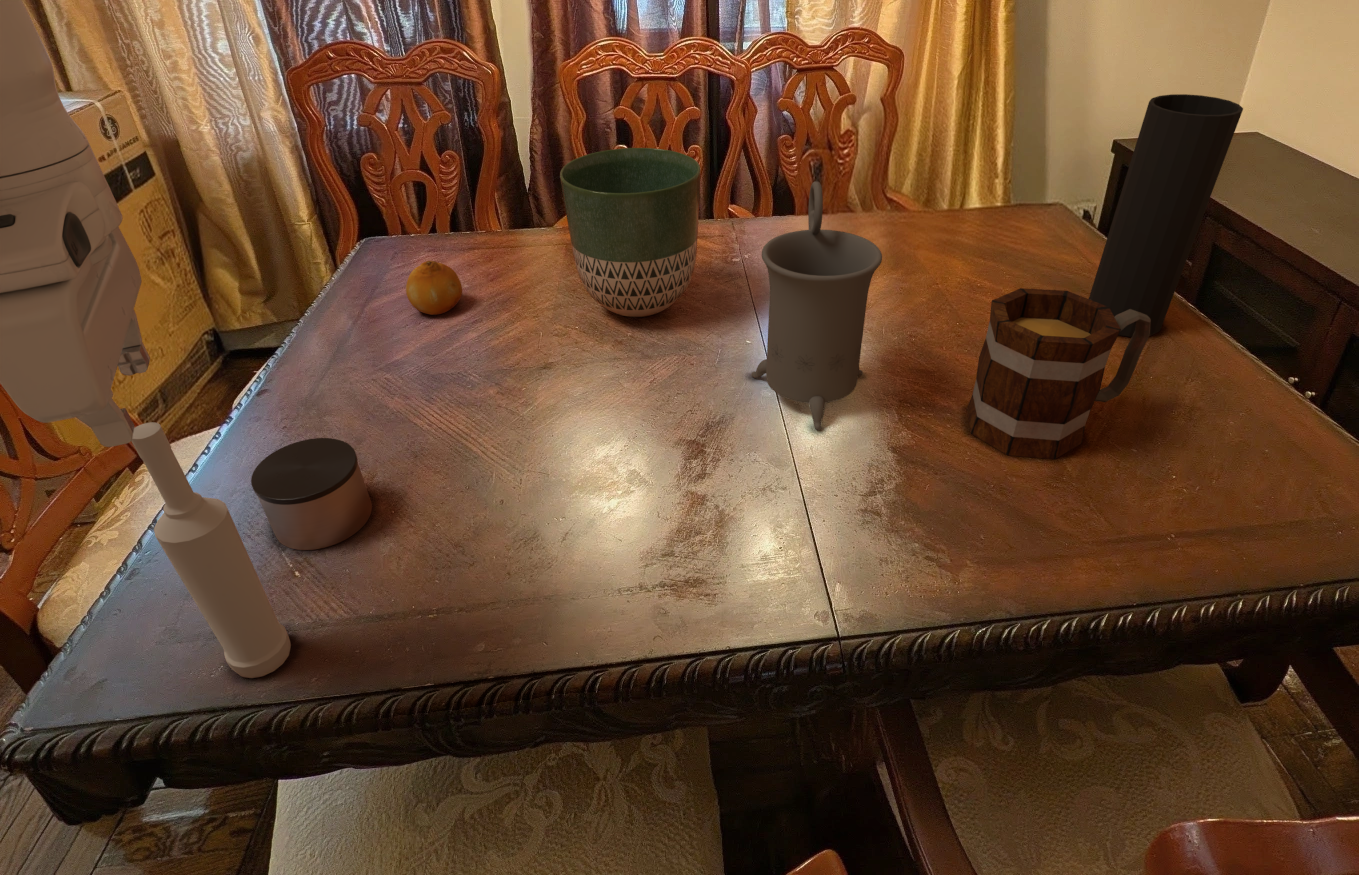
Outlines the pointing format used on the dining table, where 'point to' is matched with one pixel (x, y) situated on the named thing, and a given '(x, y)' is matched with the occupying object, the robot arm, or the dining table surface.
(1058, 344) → the mug
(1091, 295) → the vase
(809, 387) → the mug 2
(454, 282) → the fruit
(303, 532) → the canister
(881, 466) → the dining table surface
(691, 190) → the planter
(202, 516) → the bottle
